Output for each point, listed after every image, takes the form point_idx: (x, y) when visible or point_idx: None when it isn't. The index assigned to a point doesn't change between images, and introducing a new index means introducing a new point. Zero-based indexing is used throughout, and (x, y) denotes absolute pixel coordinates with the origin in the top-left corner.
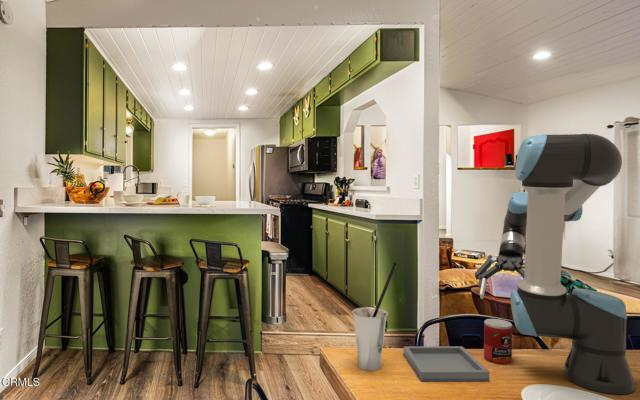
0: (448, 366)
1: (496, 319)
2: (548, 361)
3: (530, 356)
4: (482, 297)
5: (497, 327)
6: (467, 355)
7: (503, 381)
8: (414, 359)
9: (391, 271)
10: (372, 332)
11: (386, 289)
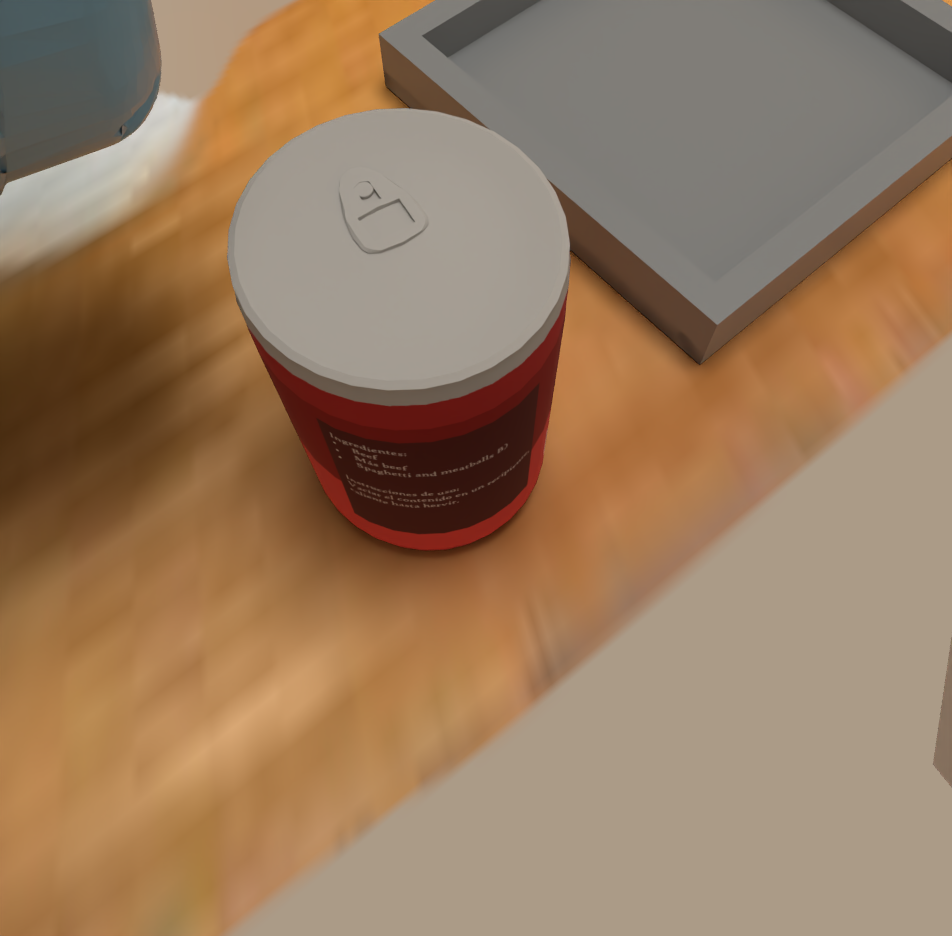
0: (651, 75)
1: (453, 363)
2: (22, 698)
3: (181, 724)
4: (950, 705)
5: (372, 121)
6: (595, 182)
7: None
8: None
9: None
10: None
11: None
